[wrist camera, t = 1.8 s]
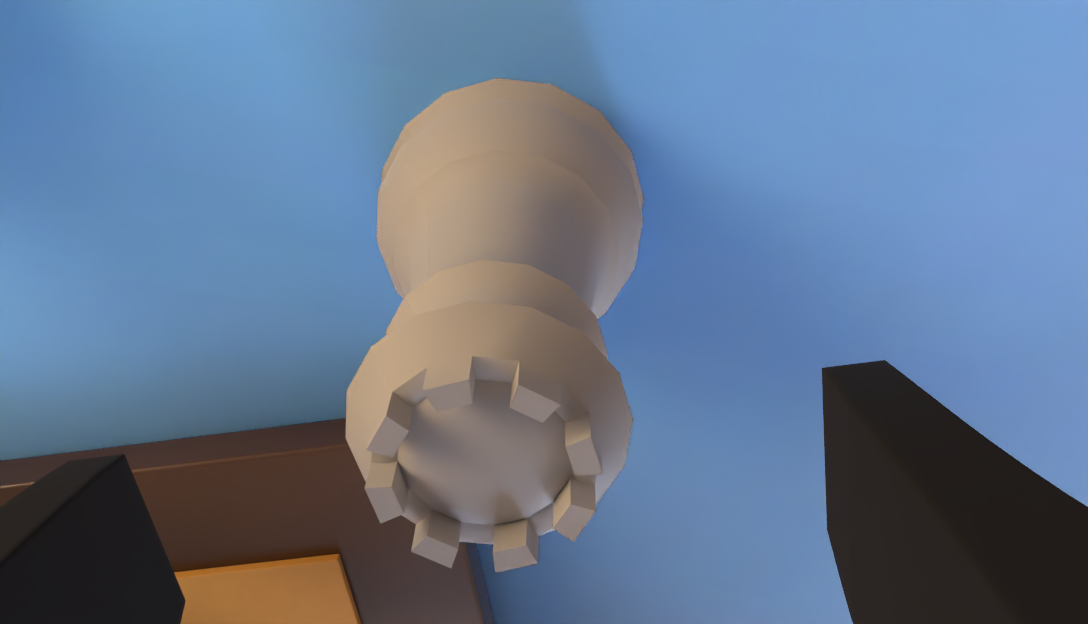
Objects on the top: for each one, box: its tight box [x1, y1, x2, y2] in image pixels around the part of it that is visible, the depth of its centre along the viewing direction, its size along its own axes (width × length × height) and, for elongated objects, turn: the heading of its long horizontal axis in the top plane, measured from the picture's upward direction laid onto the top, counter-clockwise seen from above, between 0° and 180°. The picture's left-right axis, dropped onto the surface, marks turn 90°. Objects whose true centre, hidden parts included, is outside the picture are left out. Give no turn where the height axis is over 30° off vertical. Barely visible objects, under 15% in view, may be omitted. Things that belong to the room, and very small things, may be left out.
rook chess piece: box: [345, 78, 644, 573], centre depth 15 cm, size 4×4×8 cm
